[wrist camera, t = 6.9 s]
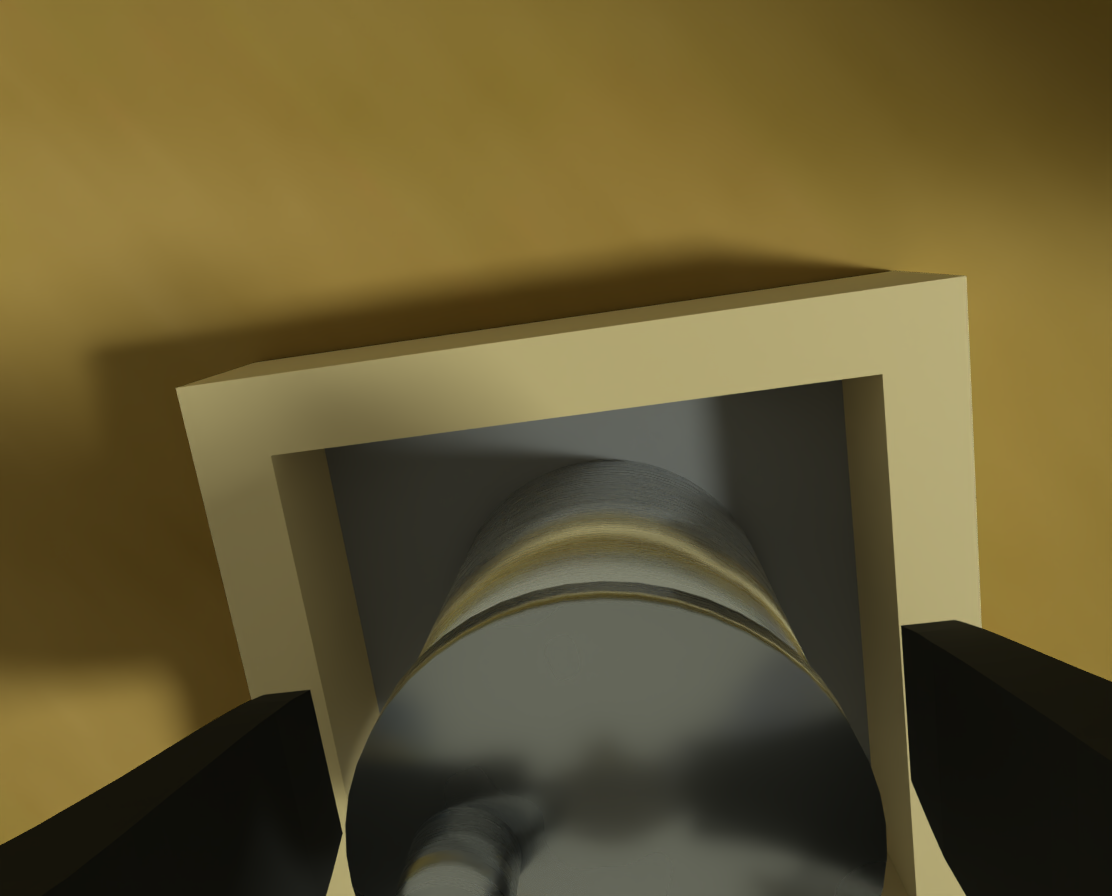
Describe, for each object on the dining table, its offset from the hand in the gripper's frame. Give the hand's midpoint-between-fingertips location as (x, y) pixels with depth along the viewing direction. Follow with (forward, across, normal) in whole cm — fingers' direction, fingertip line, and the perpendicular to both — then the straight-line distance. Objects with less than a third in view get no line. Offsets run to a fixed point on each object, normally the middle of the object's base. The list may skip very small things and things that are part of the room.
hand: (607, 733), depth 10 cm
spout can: (+3, 0, 0) cm, 3 cm away
